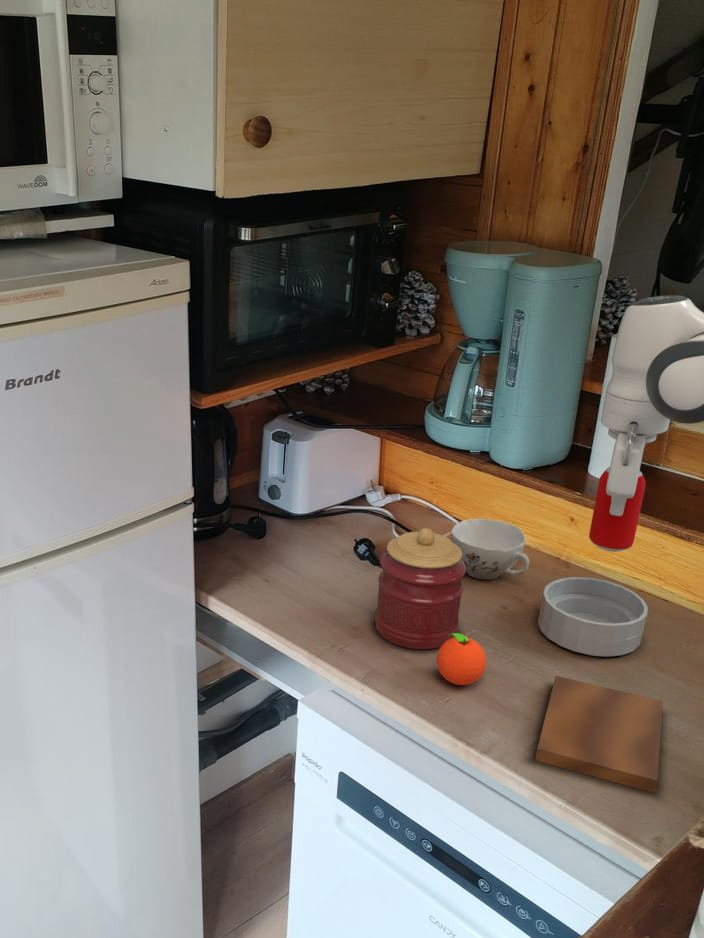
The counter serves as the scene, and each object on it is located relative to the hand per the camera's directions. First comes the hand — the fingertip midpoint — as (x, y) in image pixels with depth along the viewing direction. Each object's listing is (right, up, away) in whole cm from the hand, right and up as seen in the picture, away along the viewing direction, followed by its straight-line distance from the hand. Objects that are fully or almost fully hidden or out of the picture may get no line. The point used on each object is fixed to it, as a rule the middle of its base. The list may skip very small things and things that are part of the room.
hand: (618, 504), depth 133 cm
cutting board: (-8, -31, -13) cm, 35 cm away
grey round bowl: (0, -20, +11) cm, 23 cm away
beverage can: (0, -6, +3) cm, 7 cm away
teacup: (-11, -12, +29) cm, 33 cm away
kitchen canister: (-27, -20, +12) cm, 36 cm away
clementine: (-24, -26, -1) cm, 35 cm away
